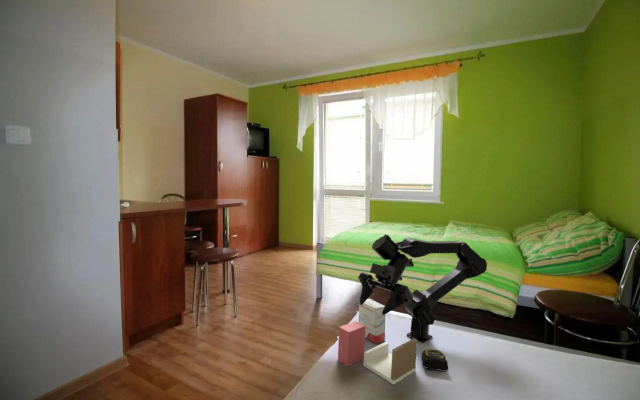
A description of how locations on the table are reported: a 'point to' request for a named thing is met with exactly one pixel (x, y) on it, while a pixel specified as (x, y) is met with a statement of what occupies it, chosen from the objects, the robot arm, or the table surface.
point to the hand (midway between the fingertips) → (371, 309)
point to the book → (351, 343)
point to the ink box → (372, 320)
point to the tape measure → (434, 360)
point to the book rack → (392, 360)
